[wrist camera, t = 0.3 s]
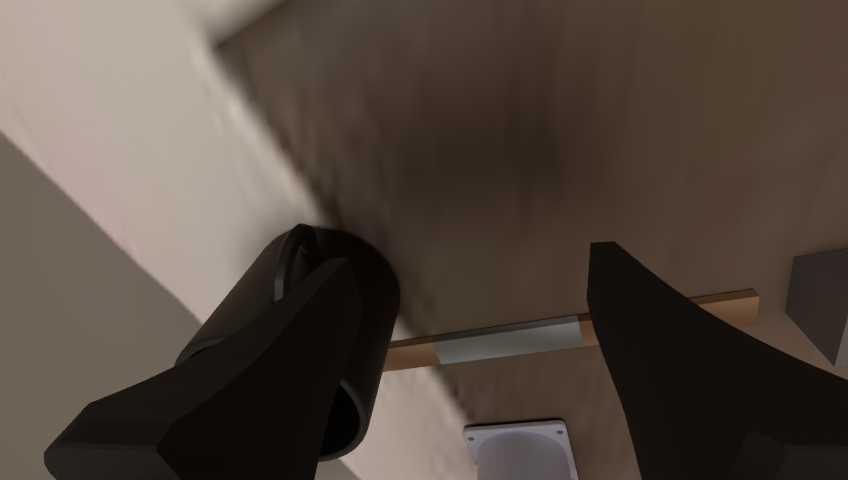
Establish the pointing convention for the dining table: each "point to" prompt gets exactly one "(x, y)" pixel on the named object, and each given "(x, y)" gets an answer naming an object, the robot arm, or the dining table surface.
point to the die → (822, 302)
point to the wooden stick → (542, 335)
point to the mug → (283, 272)
